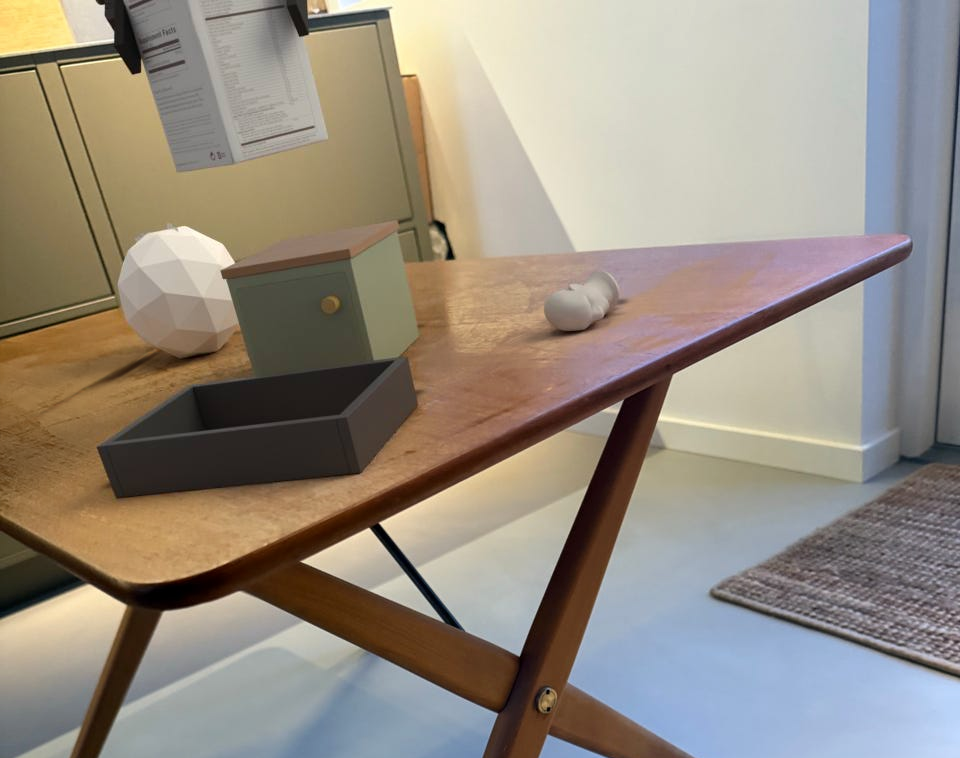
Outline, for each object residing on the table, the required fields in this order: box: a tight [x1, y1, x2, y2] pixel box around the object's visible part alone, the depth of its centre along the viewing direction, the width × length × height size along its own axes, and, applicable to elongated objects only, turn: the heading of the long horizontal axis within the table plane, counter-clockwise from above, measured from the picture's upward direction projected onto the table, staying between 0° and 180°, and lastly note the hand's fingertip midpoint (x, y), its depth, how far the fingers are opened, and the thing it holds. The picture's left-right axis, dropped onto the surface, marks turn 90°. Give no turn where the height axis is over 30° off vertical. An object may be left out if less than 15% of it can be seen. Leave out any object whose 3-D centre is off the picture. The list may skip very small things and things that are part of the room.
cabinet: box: [221, 219, 420, 377], centre depth 97 cm, size 12×15×11 cm
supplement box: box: [123, 0, 329, 173], centre depth 78 cm, size 10×9×17 cm
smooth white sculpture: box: [543, 269, 621, 332], centre depth 95 cm, size 4×8×5 cm
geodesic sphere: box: [117, 222, 240, 360], centre depth 116 cm, size 15×14×14 cm
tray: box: [96, 355, 419, 498], centre depth 78 cm, size 20×15×4 cm
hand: (211, 41), depth 76 cm, fingers closed on supplement box, 13 cm apart
